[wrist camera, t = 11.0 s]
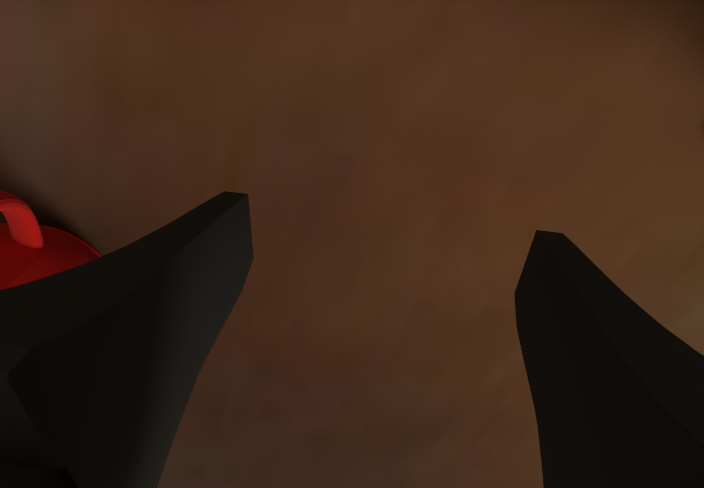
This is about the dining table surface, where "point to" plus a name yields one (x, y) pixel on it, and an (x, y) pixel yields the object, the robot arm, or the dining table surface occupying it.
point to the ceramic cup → (35, 246)
